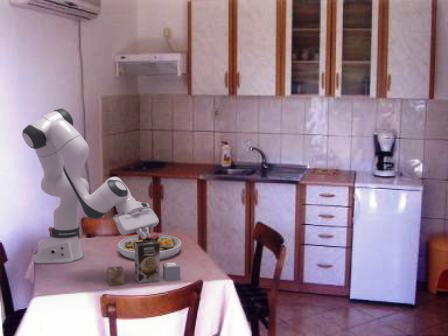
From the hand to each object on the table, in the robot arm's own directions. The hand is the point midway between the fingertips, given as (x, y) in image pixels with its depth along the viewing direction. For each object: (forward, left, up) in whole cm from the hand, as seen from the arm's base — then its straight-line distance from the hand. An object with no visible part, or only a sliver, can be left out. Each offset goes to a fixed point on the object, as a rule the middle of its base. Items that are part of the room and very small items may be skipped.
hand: (147, 237), depth 238 cm
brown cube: (-13, +1, -18) cm, 23 cm away
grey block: (+10, 0, -18) cm, 21 cm away
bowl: (+8, +38, -19) cm, 43 cm away
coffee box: (0, +1, -18) cm, 18 cm away
